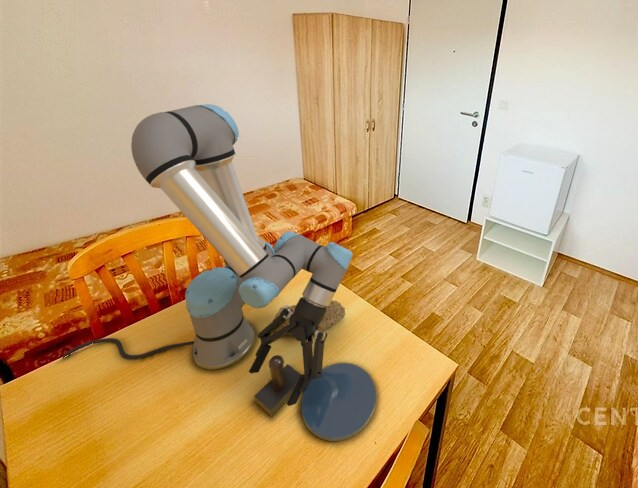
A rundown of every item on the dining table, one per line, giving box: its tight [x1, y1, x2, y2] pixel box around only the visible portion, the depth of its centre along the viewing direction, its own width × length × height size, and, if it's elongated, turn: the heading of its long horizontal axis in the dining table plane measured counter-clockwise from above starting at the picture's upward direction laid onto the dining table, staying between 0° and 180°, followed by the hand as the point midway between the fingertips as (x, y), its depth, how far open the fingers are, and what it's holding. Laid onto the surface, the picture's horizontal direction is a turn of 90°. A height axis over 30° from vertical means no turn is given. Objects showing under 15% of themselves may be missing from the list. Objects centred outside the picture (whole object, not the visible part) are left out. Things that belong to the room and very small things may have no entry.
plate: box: [301, 362, 377, 442], centre depth 79 cm, size 18×18×1 cm
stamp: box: [254, 354, 302, 417], centre depth 77 cm, size 10×6×13 cm, turn 148°
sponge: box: [271, 299, 346, 335], centre depth 97 cm, size 13×8×20 cm
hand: (271, 387), depth 76 cm, fingers open, 13 cm apart
